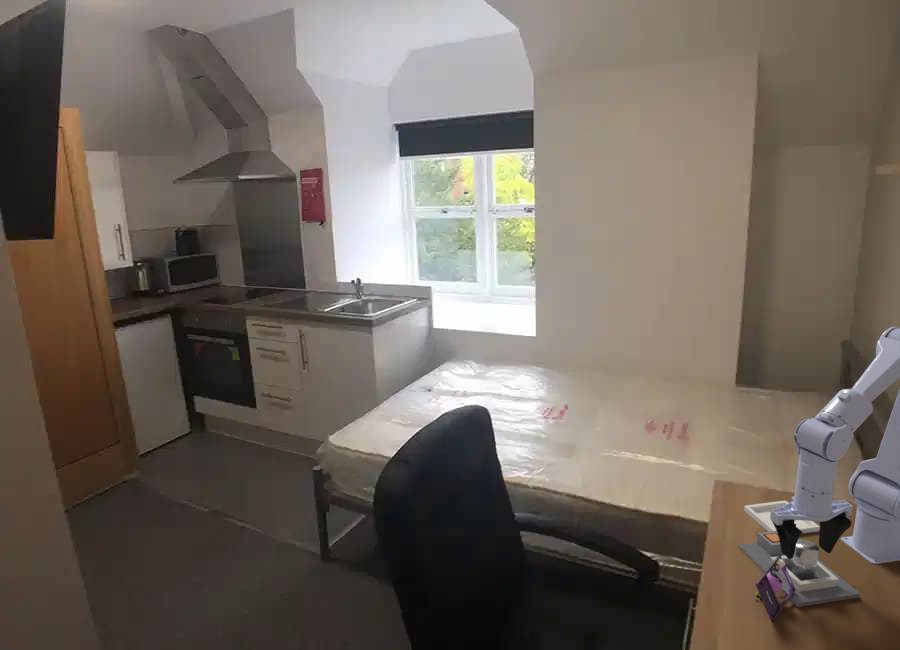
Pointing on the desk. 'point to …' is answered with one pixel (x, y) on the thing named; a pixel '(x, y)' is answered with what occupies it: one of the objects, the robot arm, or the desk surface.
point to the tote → (763, 518)
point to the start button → (773, 537)
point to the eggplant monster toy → (773, 587)
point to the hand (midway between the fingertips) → (806, 552)
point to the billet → (804, 560)
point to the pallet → (806, 592)
